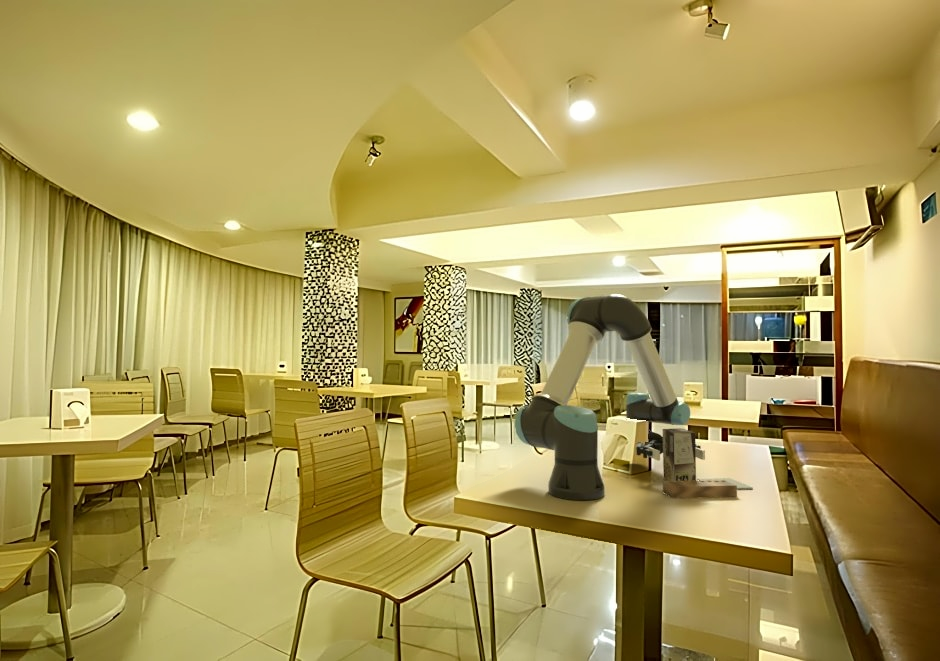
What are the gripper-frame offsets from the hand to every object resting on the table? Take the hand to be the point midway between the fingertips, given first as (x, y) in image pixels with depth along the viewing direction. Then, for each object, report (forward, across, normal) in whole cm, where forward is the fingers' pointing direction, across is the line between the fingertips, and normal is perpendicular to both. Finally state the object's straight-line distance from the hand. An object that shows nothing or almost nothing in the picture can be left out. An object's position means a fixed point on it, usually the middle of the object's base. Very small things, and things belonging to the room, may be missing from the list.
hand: (681, 455), depth 150 cm
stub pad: (-1, -13, -9) cm, 16 cm away
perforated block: (+9, 0, -9) cm, 13 cm away
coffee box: (0, 0, -9) cm, 9 cm away
